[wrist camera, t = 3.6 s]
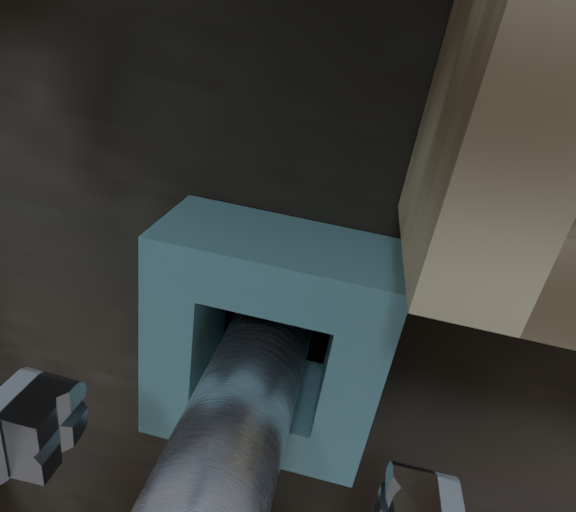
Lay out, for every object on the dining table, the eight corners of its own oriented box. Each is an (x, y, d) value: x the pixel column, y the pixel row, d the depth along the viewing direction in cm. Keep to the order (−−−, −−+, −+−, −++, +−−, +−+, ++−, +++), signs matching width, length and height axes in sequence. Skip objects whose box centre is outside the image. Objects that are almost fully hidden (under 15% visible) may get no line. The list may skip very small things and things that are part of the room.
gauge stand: (189, 194, 15) (138, 236, 12) (405, 240, 14) (412, 297, 11) (180, 363, 18) (138, 431, 15) (357, 406, 17) (351, 487, 14)
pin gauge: (242, 262, 16) (-59, 751, 5) (329, 281, 15) (210, 845, 5) (234, 333, 17) (-16, 838, 6) (314, 352, 17) (194, 916, 6)
